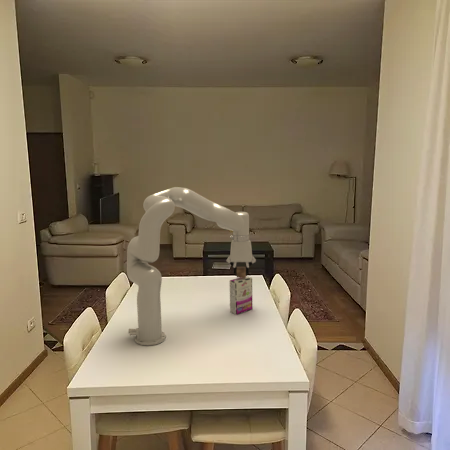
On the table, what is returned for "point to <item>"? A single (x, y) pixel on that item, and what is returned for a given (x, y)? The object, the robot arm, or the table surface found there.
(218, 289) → the table surface
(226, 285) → the table surface
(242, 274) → the walnut block
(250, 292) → the candy bar box
